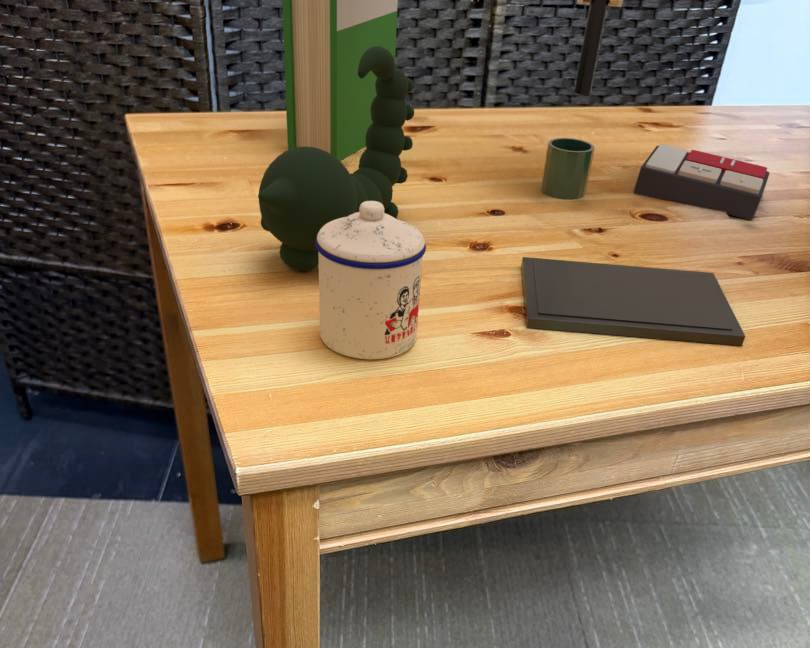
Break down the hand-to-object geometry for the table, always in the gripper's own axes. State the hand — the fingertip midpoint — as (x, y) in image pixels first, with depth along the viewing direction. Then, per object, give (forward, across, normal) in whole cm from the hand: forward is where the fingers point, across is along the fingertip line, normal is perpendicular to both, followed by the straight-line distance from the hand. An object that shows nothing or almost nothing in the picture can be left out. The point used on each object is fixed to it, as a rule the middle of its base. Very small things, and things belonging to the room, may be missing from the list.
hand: (600, 1), depth 85 cm
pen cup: (+12, 0, +18) cm, 22 cm away
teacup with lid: (+40, -20, -10) cm, 46 cm away
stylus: (+6, 0, +7) cm, 9 cm away
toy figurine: (+28, -26, +3) cm, 38 cm away
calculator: (+9, +18, +21) cm, 29 cm away
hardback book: (+2, -30, +29) cm, 42 cm away
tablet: (+33, +4, -3) cm, 33 cm away
